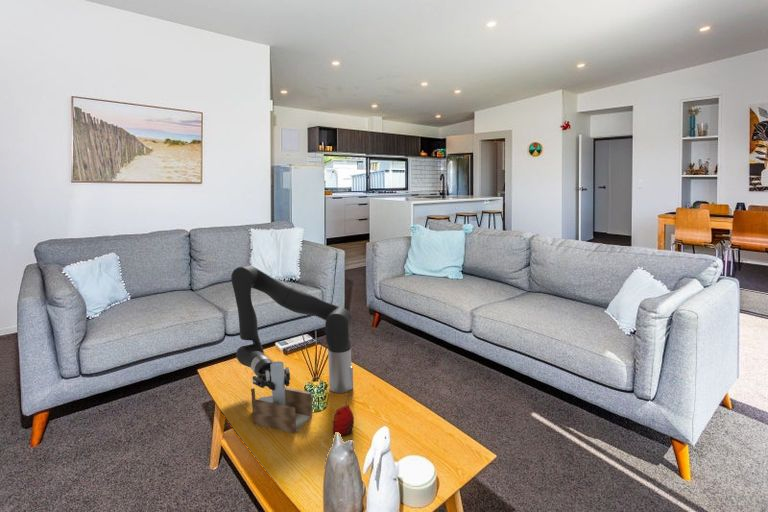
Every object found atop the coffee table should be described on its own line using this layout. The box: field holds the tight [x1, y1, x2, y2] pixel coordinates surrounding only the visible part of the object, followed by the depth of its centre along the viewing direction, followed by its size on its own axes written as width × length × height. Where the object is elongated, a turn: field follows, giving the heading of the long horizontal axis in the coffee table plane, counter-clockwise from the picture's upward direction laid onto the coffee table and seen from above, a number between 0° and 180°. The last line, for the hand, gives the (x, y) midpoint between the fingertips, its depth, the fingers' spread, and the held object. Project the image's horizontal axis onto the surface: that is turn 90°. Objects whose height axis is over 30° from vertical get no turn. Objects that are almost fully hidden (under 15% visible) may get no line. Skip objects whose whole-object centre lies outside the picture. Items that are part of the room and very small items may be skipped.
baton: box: [270, 360, 286, 406], centre depth 146 cm, size 4×4×16 cm
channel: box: [250, 387, 313, 435], centre depth 149 cm, size 20×20×9 cm
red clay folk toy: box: [332, 392, 355, 436], centre depth 141 cm, size 8×7×15 cm
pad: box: [258, 395, 273, 403], centre depth 162 cm, size 7×7×1 cm
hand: (280, 385), depth 144 cm, fingers closed on baton, 4 cm apart
